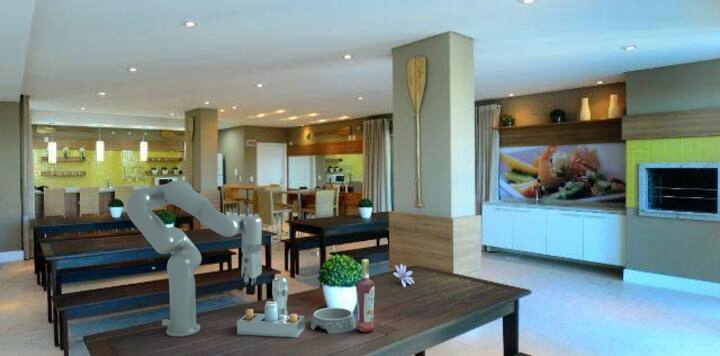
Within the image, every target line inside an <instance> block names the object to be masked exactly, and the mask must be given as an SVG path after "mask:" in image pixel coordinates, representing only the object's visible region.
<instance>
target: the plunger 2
mask: <svg viewBox="0 0 720 356" xmlns="http://www.w3.org/2000/svg"><path fill="white" fill-rule="evenodd" d="M288 315H289V318H290V323H296V322H297V316H298V314H297V313H290V314H288Z"/></svg>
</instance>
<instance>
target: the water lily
mask: <svg viewBox="0 0 720 356" xmlns="http://www.w3.org/2000/svg"><path fill="white" fill-rule="evenodd" d="M394 266H395V270H396V271H397V272H393V273H392V274H393V275H394V276H395V277H397V278H399V279H398V280H397V282H396V283H397V284H398V283H401V285H402V287H404V288H406V286H407V284H409V285H412V284H415V281H414V280H413V279H414V278H413V277H411V275H412V274H413V271H412V270H408V271H407V266H406V264H405V265H403V264H402V263H400V265H399V266H398V265H394Z"/></svg>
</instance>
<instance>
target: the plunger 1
mask: <svg viewBox="0 0 720 356" xmlns="http://www.w3.org/2000/svg"><path fill="white" fill-rule="evenodd" d="M253 313H254V309H253V308H247V309H245V315H246V320H250V321H251V320H252V319H253Z"/></svg>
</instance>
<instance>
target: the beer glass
mask: <svg viewBox="0 0 720 356" xmlns="http://www.w3.org/2000/svg"><path fill="white" fill-rule="evenodd" d="M271 283H272V285H271V286H272V287H271V288H272V289H271V293H272V299H273V302H276V303H277V305H278V315H288V313H289V312H288V307H287V305H288V304H287V303H288V298H289V297H288V296H289V280H288V278H286V277H278V278H274V279H272V282H271Z"/></svg>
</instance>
